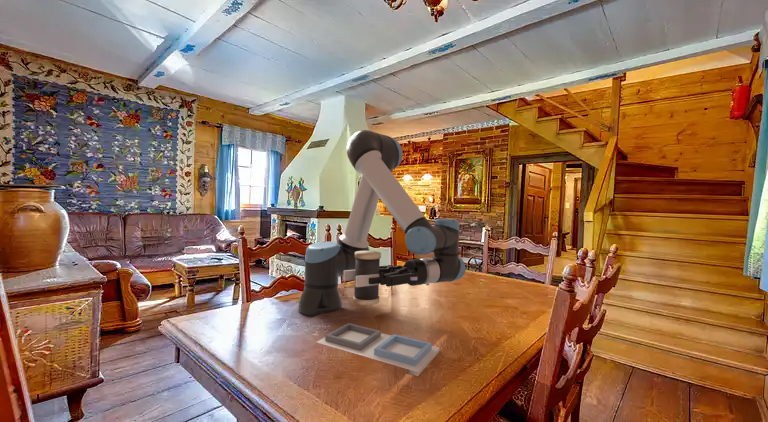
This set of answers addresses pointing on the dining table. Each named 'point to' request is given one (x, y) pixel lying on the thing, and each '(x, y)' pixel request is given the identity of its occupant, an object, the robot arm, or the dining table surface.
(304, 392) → the dining table surface
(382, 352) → the grey flat tray
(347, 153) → the robot arm
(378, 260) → the cable spool
